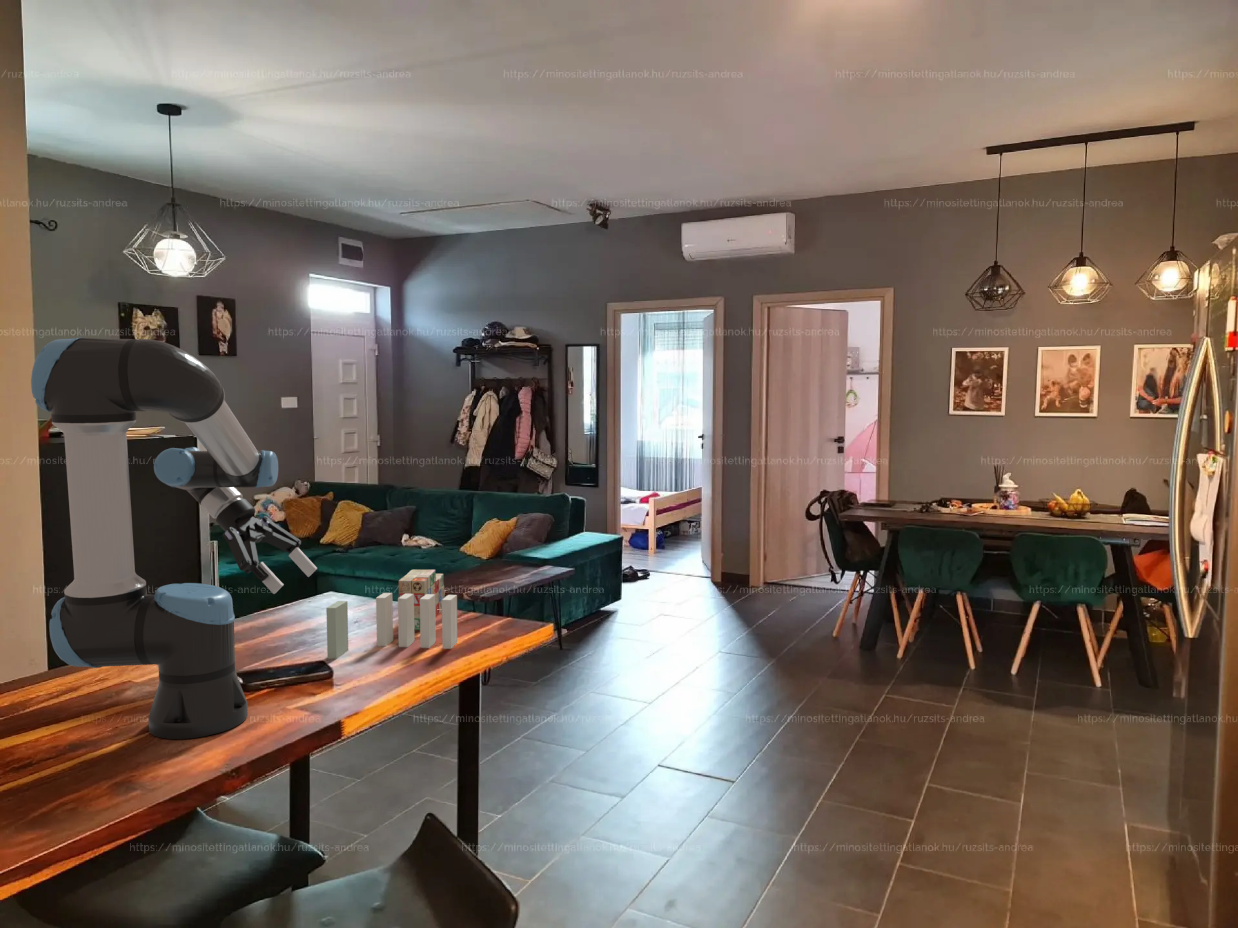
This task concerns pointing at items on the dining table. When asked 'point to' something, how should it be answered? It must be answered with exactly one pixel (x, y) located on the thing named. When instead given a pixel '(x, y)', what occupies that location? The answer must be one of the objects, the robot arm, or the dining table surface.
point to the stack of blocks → (422, 589)
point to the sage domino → (337, 629)
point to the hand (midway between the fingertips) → (296, 580)
